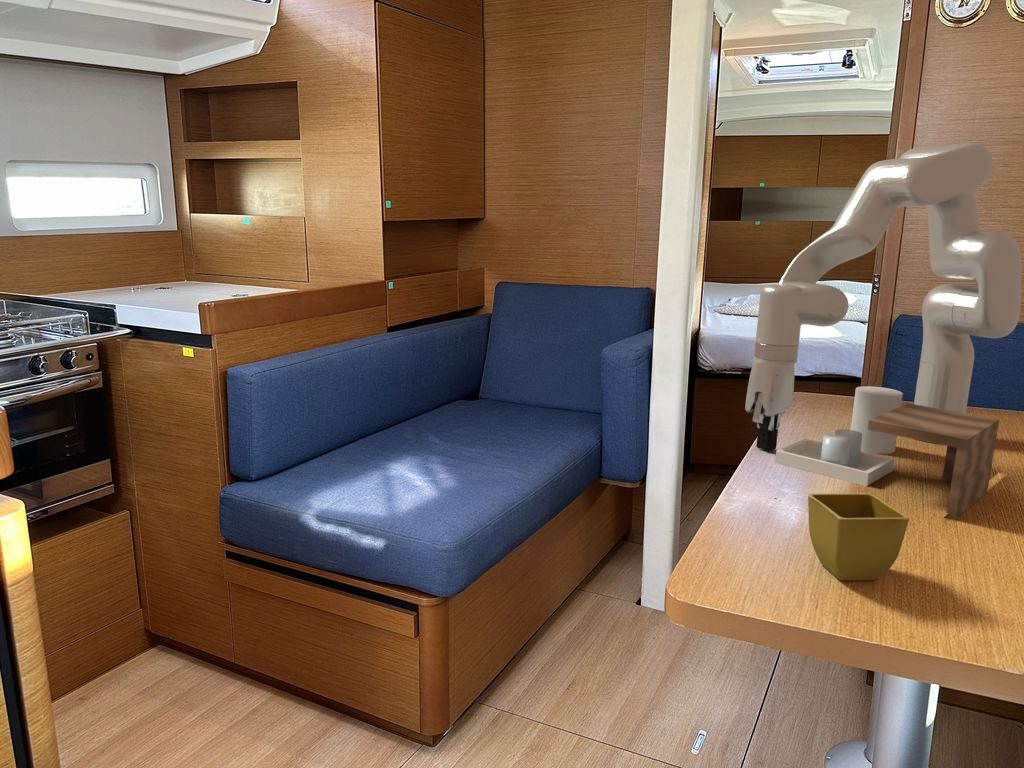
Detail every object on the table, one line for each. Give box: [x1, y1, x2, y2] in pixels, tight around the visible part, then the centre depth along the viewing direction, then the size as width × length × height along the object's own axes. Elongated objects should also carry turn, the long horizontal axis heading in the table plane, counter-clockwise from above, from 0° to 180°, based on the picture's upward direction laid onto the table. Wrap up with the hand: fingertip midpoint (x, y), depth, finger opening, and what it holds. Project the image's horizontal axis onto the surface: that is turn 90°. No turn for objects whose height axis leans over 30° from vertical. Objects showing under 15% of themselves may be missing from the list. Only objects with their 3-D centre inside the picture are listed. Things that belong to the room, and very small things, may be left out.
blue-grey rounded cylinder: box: [821, 433, 851, 467], centre depth 133 cm, size 4×4×6 cm
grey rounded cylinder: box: [834, 428, 863, 469], centre depth 136 cm, size 4×4×6 cm
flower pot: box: [807, 492, 910, 581], centre depth 95 cm, size 9×9×9 cm
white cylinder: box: [850, 385, 904, 455], centre depth 147 cm, size 8×8×12 cm
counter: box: [868, 402, 1000, 521], centre depth 124 cm, size 18×14×12 cm
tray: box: [774, 438, 895, 487], centre depth 136 cm, size 12×16×3 cm
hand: (766, 448), depth 144 cm, fingers closed
